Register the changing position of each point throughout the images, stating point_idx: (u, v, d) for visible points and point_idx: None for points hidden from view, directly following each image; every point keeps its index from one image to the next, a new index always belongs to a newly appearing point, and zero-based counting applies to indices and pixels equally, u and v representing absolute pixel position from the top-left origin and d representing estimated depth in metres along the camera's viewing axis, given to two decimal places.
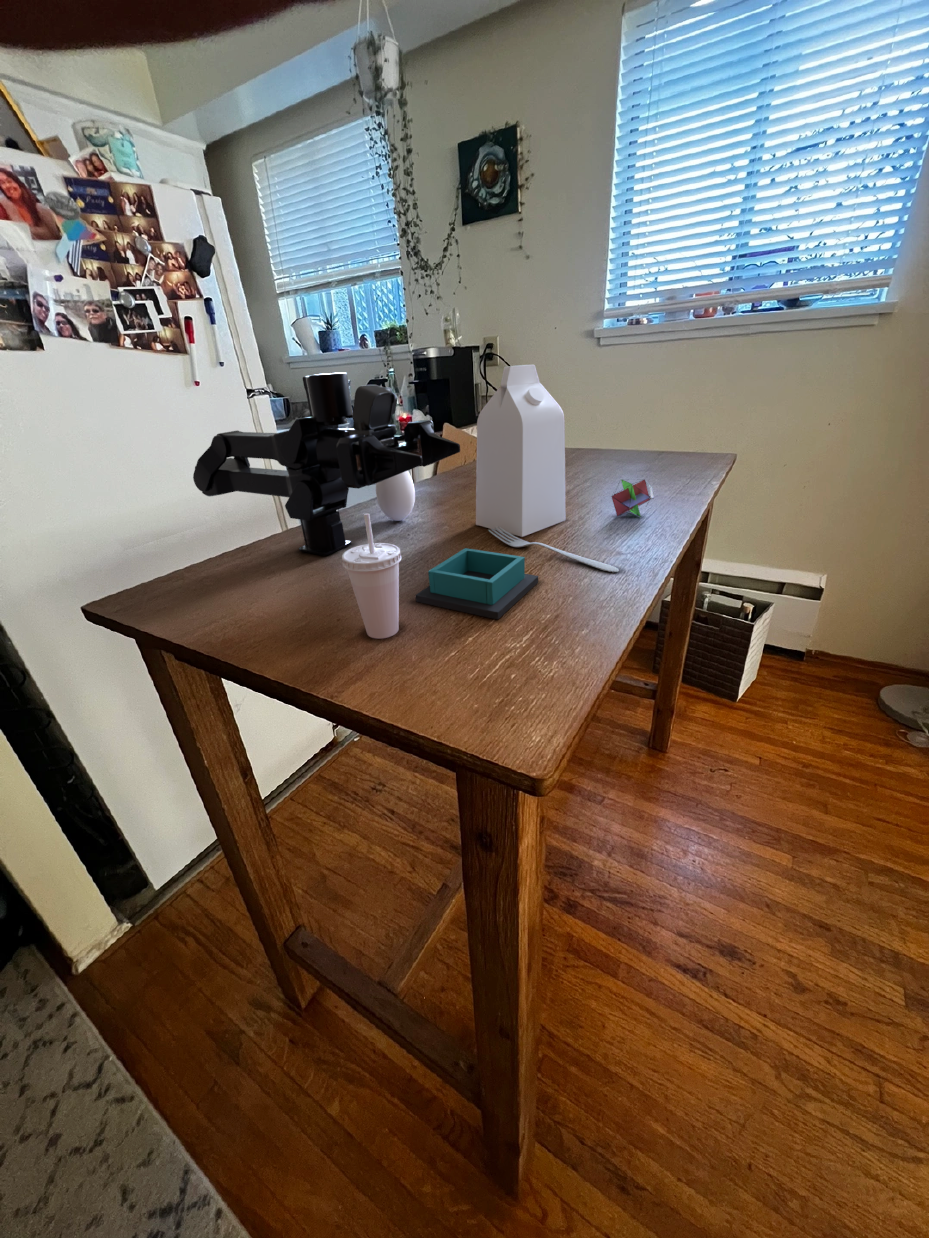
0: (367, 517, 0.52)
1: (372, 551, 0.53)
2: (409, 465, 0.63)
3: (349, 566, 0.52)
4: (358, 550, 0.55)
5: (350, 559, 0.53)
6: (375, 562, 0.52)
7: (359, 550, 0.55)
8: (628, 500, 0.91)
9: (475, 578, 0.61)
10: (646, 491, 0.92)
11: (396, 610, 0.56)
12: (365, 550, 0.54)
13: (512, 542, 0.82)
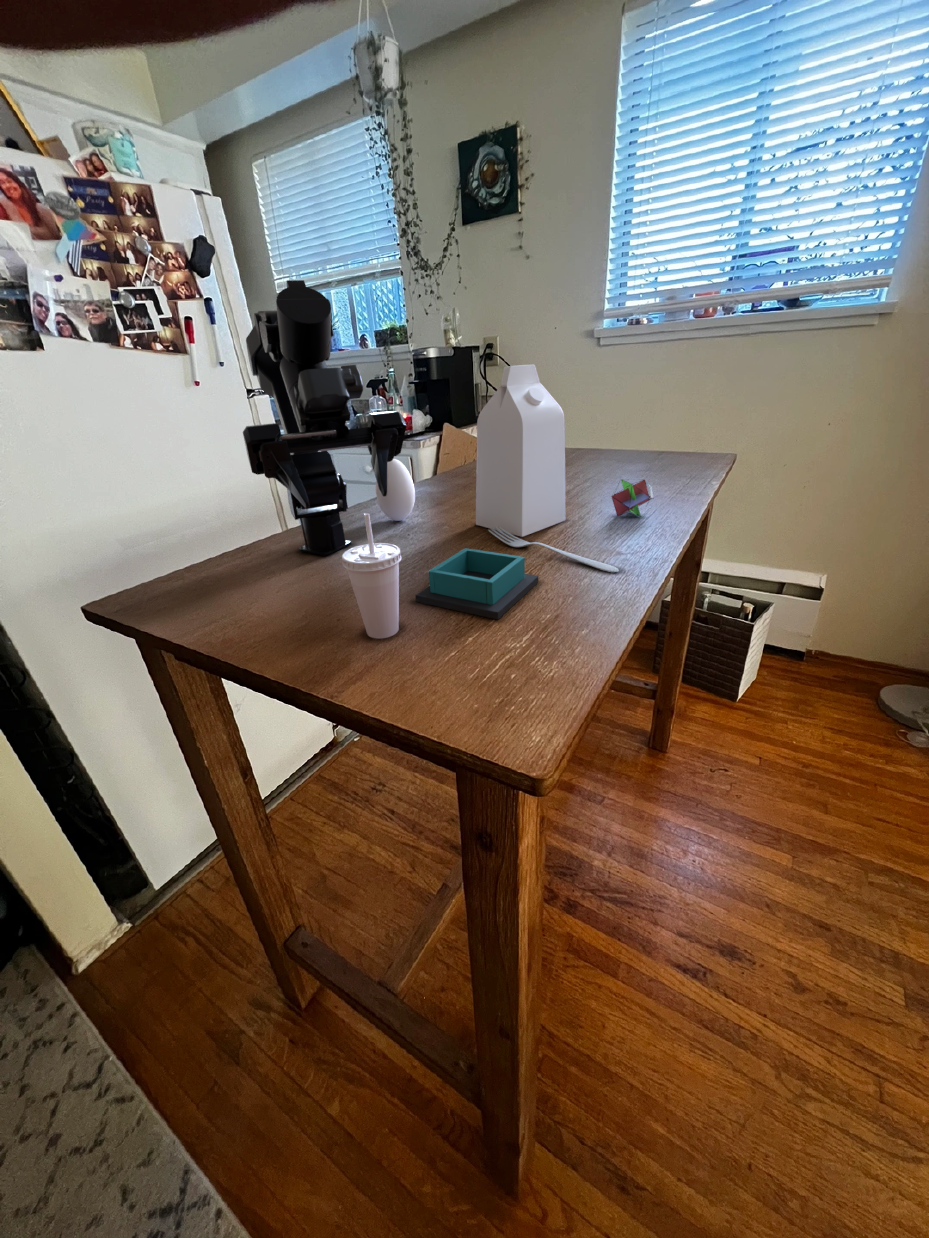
0: (367, 517, 0.52)
1: (372, 551, 0.53)
2: (299, 499, 0.58)
3: (349, 566, 0.52)
4: (358, 550, 0.55)
5: (350, 559, 0.53)
6: (375, 562, 0.52)
7: (359, 550, 0.55)
8: (628, 500, 0.91)
9: (475, 578, 0.61)
10: (646, 491, 0.92)
11: (396, 610, 0.56)
12: (365, 550, 0.54)
13: (512, 542, 0.82)
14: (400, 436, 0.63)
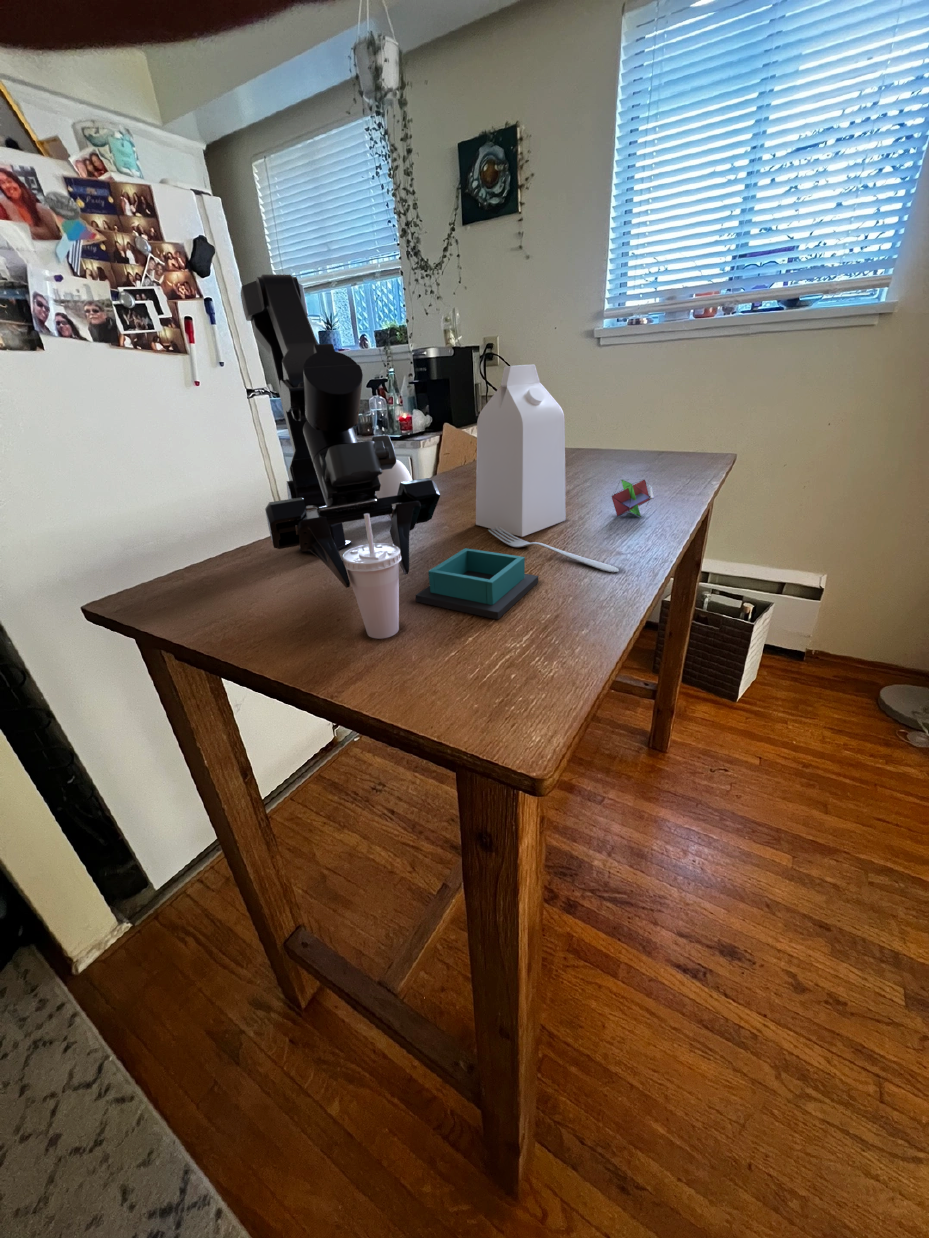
0: (367, 517, 0.52)
1: (372, 551, 0.53)
2: (338, 577, 0.54)
3: (349, 566, 0.52)
4: (358, 550, 0.55)
5: (350, 559, 0.53)
6: (375, 562, 0.52)
7: (359, 550, 0.55)
8: (628, 500, 0.91)
9: (475, 578, 0.61)
10: (646, 491, 0.92)
11: (396, 610, 0.56)
12: (365, 550, 0.54)
13: (512, 542, 0.82)
14: (433, 504, 0.58)
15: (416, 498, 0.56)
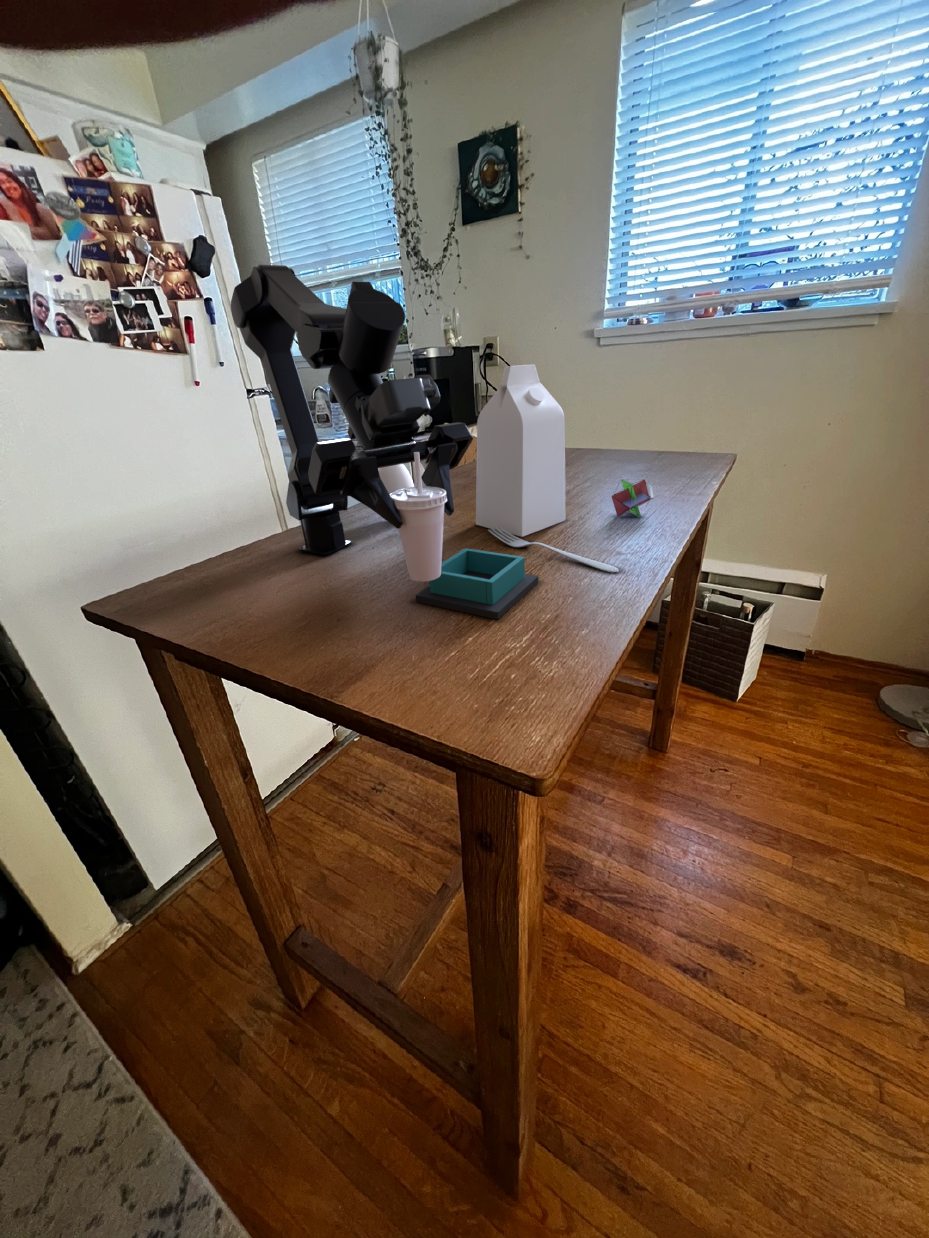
0: (417, 455, 0.52)
1: (421, 491, 0.54)
2: (388, 518, 0.54)
3: (401, 506, 0.53)
4: (402, 493, 0.55)
5: (401, 499, 0.53)
6: (429, 499, 0.52)
7: (403, 492, 0.55)
8: (628, 500, 0.91)
9: (475, 578, 0.61)
10: (646, 491, 0.92)
11: (441, 552, 0.57)
12: (411, 491, 0.55)
13: (512, 542, 0.82)
14: (464, 449, 0.60)
15: (453, 440, 0.57)
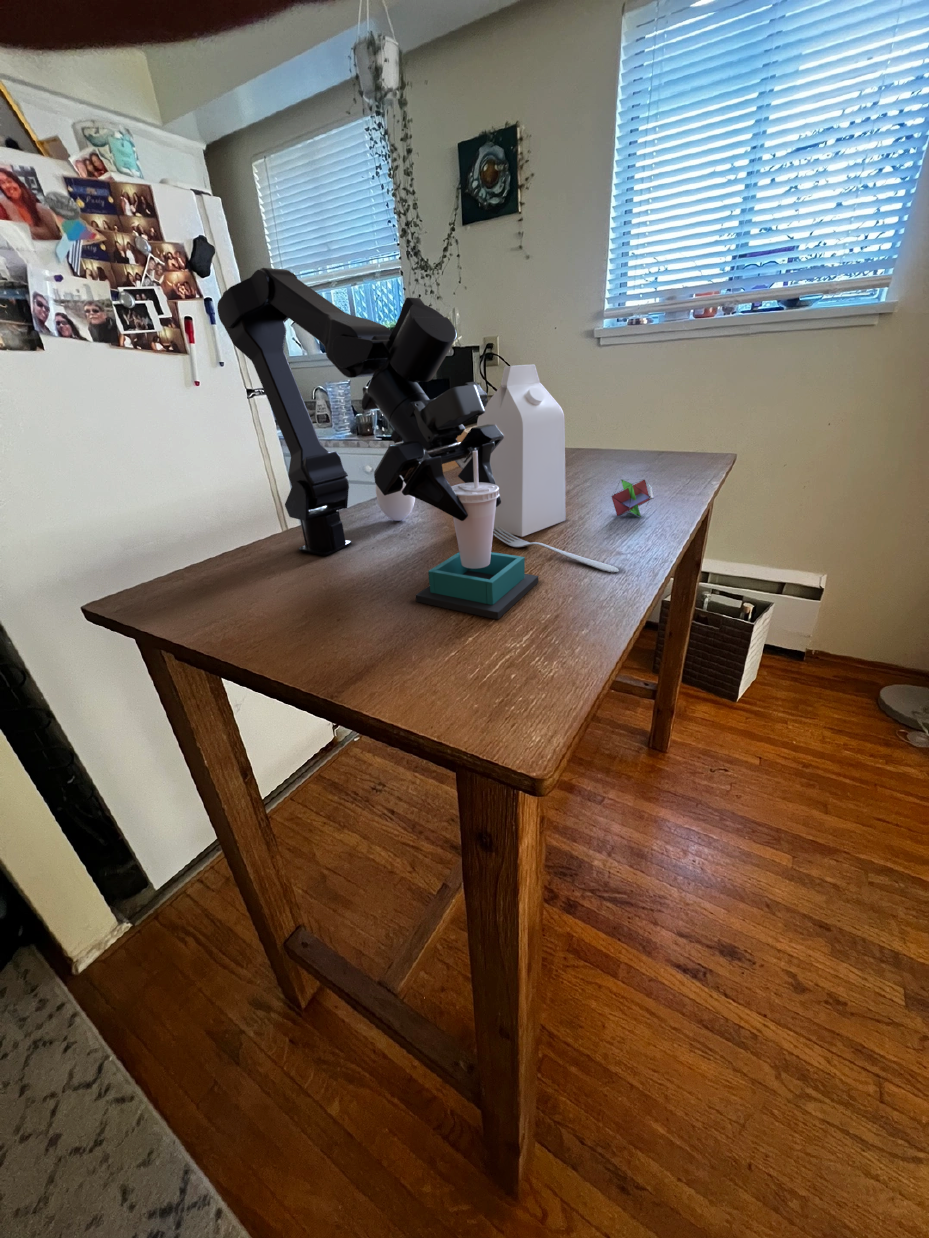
0: (476, 454, 0.58)
1: (477, 486, 0.60)
2: (452, 512, 0.59)
3: (466, 499, 0.58)
4: (457, 489, 0.61)
5: (464, 494, 0.58)
6: (491, 492, 0.58)
7: (458, 489, 0.61)
8: (628, 500, 0.91)
9: (475, 578, 0.61)
10: (646, 491, 0.92)
11: None
12: (466, 487, 0.60)
13: (512, 542, 0.82)
14: (493, 448, 0.67)
15: (491, 440, 0.64)
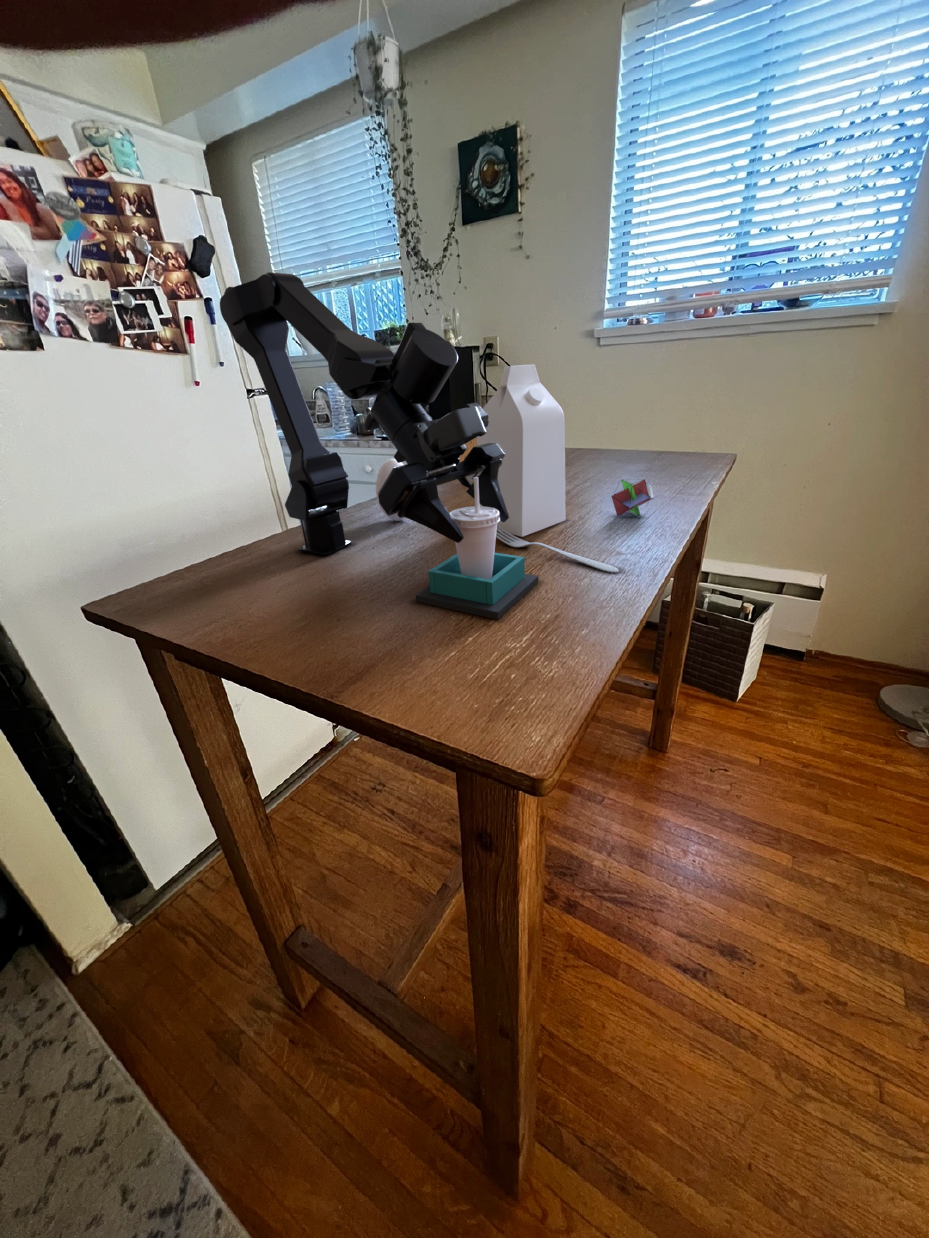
0: (477, 480, 0.59)
1: (478, 511, 0.61)
2: (448, 534, 0.59)
3: (467, 525, 0.60)
4: (458, 513, 0.62)
5: (465, 519, 0.60)
6: (491, 517, 0.60)
7: (459, 513, 0.62)
8: (628, 500, 0.91)
9: (475, 578, 0.61)
10: (646, 491, 0.92)
11: None
12: (468, 512, 0.62)
13: (512, 542, 0.82)
14: None
15: (492, 459, 0.65)
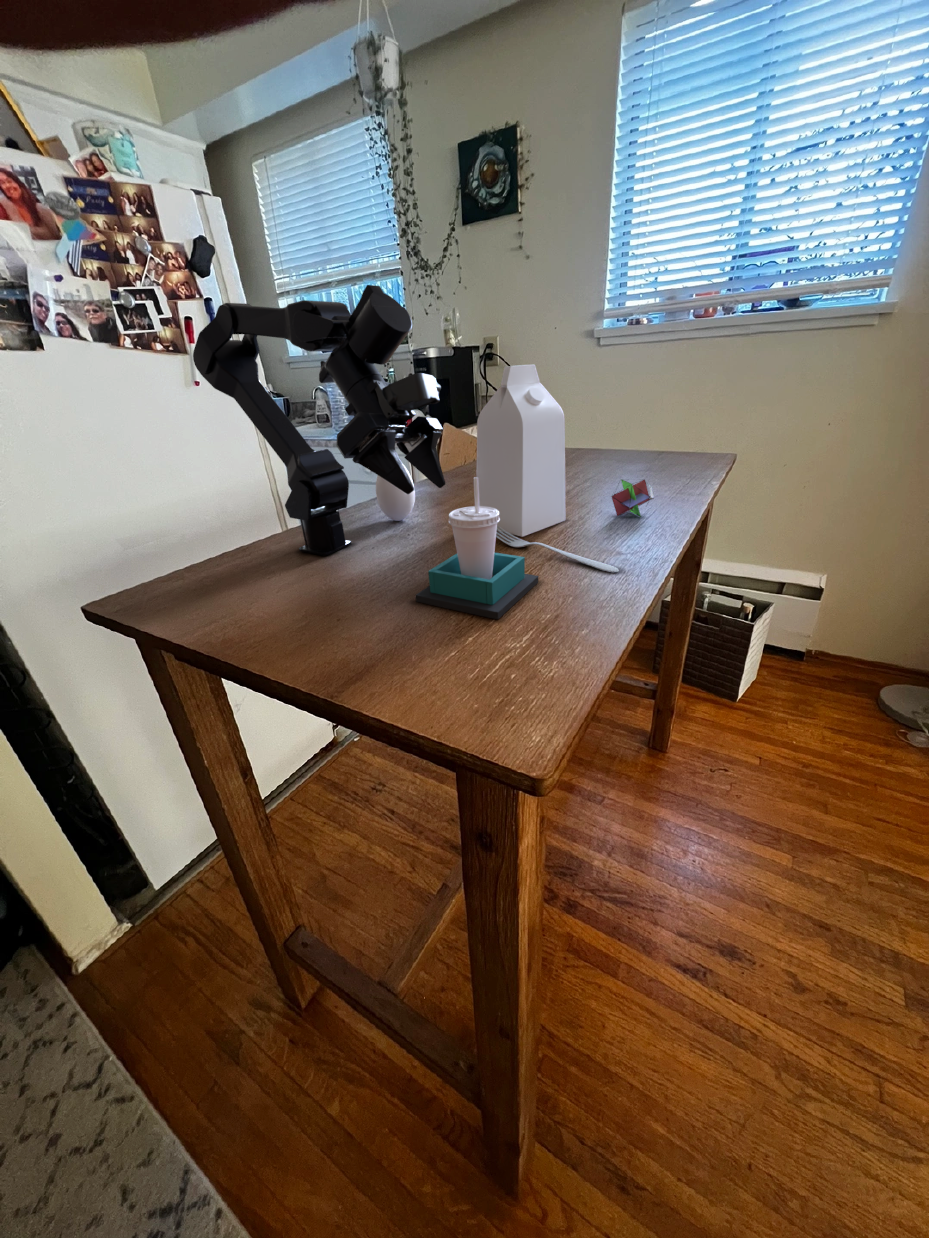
0: (477, 480, 0.59)
1: (478, 511, 0.61)
2: (399, 485, 0.64)
3: (467, 525, 0.60)
4: (458, 513, 0.62)
5: (465, 519, 0.60)
6: (491, 517, 0.60)
7: (459, 513, 0.62)
8: (628, 500, 0.91)
9: (475, 578, 0.61)
10: (646, 491, 0.92)
11: None
12: (468, 512, 0.62)
13: (512, 542, 0.82)
14: None
15: (434, 430, 0.72)
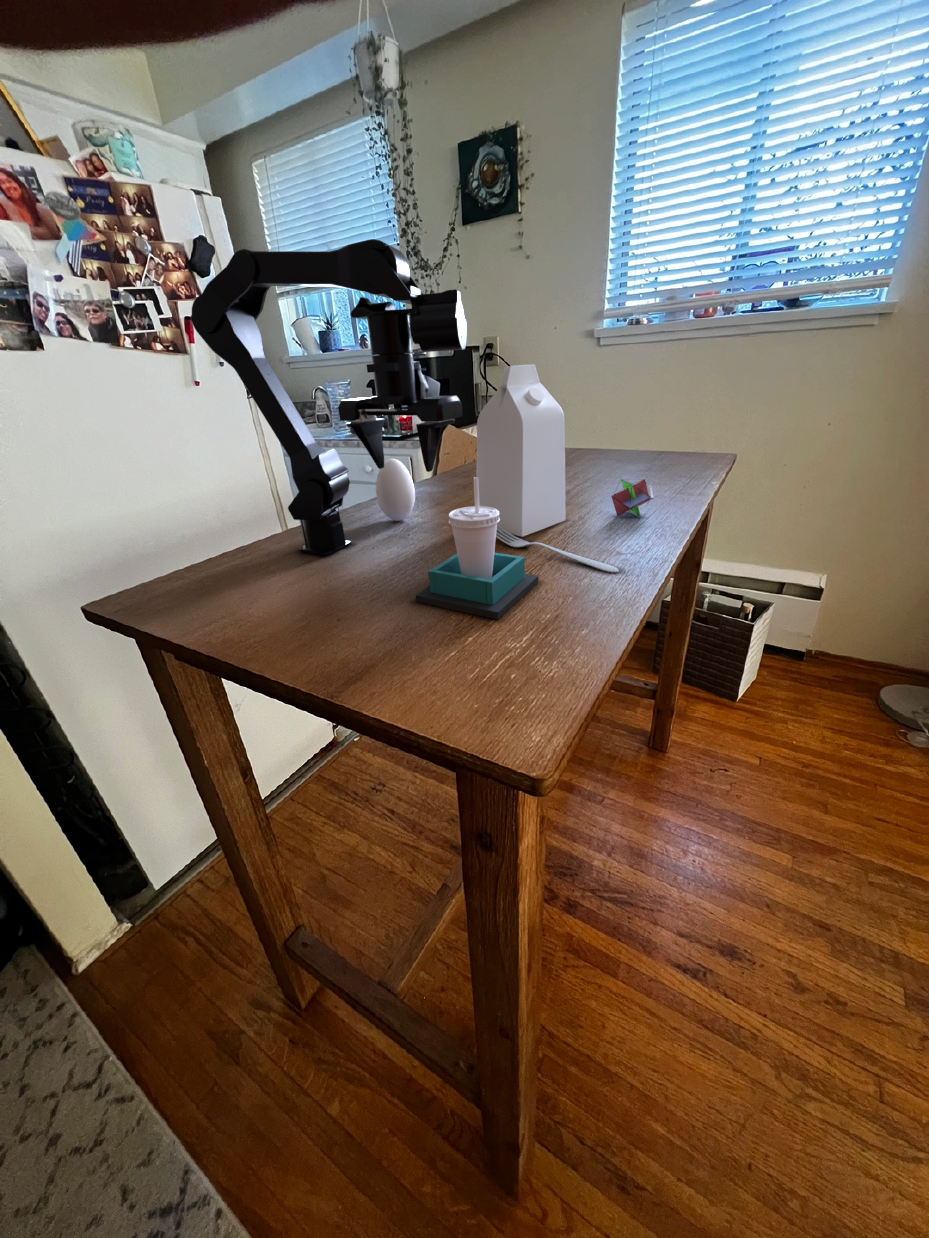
0: (477, 480, 0.59)
1: (478, 511, 0.61)
2: (429, 462, 0.73)
3: (467, 525, 0.60)
4: (458, 513, 0.62)
5: (465, 519, 0.60)
6: (491, 517, 0.60)
7: (459, 513, 0.62)
8: (628, 500, 0.91)
9: (475, 578, 0.61)
10: (646, 491, 0.92)
11: None
12: (468, 512, 0.62)
13: (512, 542, 0.82)
14: None
15: None
